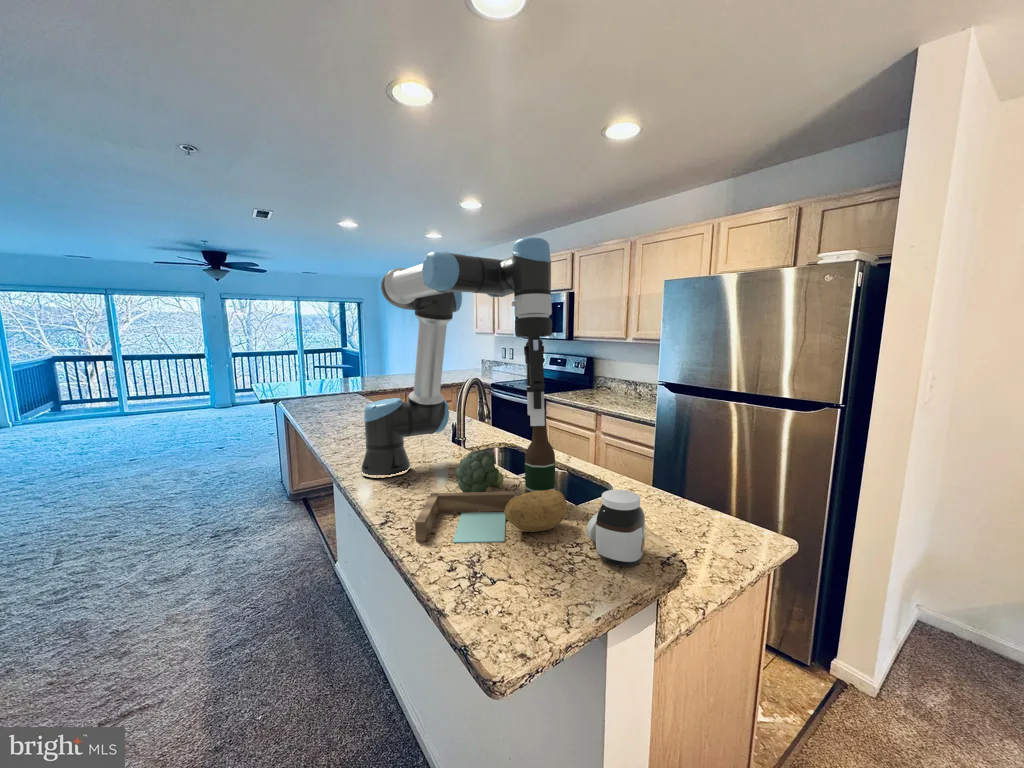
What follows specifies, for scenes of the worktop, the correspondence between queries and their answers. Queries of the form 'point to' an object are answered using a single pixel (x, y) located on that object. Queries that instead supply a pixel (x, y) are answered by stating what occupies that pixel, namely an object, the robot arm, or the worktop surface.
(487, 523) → the pad
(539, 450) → the beer bottle
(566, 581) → the worktop surface
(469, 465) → the vegetable
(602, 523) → the spread jar
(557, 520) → the potato
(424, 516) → the corner arena
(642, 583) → the worktop surface
